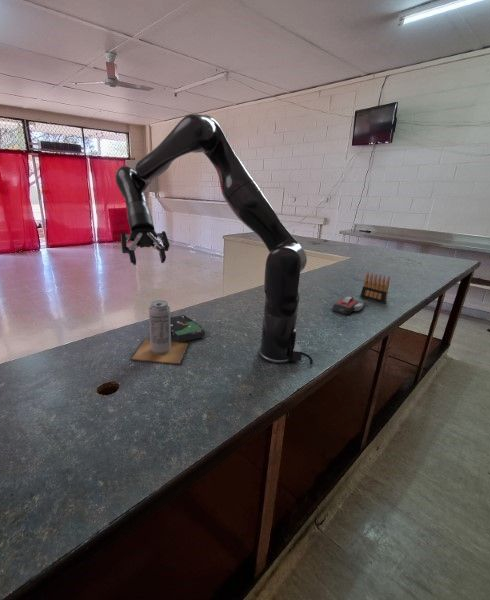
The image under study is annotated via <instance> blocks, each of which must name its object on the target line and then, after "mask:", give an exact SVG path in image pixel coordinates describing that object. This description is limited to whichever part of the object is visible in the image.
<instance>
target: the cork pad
mask: <svg viewBox="0 0 490 600" xmlns="http://www.w3.org/2000/svg"><path fill="white" fill-rule="evenodd" d="M188 346H189V343H188V342H177V341H171V348H170V349H169V351H168V352H167V353H165V354H156V353H154V352H153V351H152V350H151V346H150V339H148V338H147V339H146V338H145V339H144V340H143V342H142V343H141V344H140V346H139V347H138V348H137V350H136V352H135V353H134V354H133V356H132V357H131V361H140V362H141V361H142V362H151V363H152V362H153V363H161V364H162V363H163V364H172V365H181V362H182V359H183V357H184V355H185V352H186V350H187V348H188Z"/></svg>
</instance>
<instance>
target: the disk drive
mask: <svg viewBox="0 0 490 600" xmlns="http://www.w3.org/2000/svg"><path fill="white" fill-rule="evenodd" d="M170 324H171V339H173V340H174V342H181V343H183V342H186V341H190V340H194V339H198V338H203V337H205V335H206V330H205V329H204V328H203V326H201V325H199V324H198V323H197V322H195V321H194V320H193V319H192V318H189V316H187V315H185V314H181V315H176V316H170Z"/></svg>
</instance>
